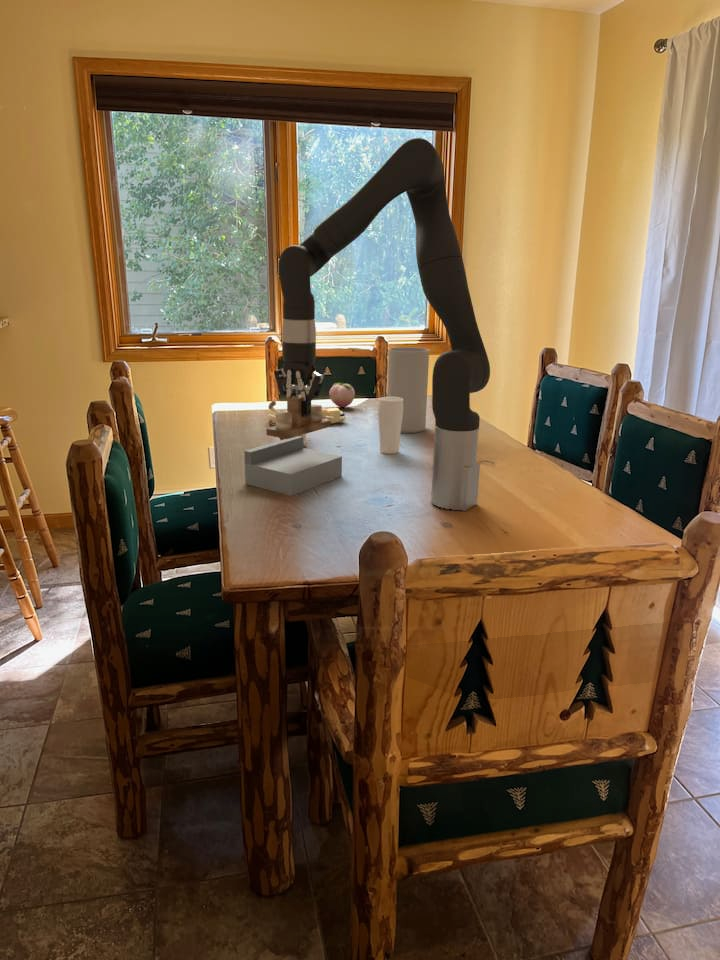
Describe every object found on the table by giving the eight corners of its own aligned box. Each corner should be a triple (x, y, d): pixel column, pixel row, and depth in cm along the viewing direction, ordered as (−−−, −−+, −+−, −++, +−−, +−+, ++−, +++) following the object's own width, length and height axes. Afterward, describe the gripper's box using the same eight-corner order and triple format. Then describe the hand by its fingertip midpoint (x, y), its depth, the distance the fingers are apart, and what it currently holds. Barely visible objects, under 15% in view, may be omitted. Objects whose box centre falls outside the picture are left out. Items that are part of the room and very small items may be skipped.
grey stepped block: (341, 476, 168) (342, 444, 165) (291, 495, 153) (291, 461, 150) (297, 466, 175) (297, 435, 173) (245, 483, 160) (244, 450, 158)
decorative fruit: (359, 407, 248) (360, 380, 245) (347, 411, 242) (347, 383, 239) (337, 404, 253) (338, 377, 250) (325, 408, 246) (325, 380, 243)
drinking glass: (399, 456, 187) (401, 401, 182) (375, 454, 188) (376, 400, 183) (403, 449, 193) (405, 397, 188) (379, 448, 194) (380, 395, 190)
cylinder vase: (432, 432, 214) (436, 351, 207) (395, 434, 210) (398, 352, 202) (414, 423, 225) (418, 346, 218) (379, 426, 221) (382, 347, 213)
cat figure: (270, 431, 217) (348, 424, 220) (267, 404, 214) (346, 397, 217) (269, 424, 226) (344, 417, 229) (266, 398, 224) (342, 391, 227)
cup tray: (310, 422, 168) (310, 390, 165) (330, 426, 164) (330, 393, 162) (266, 435, 155) (265, 400, 153) (286, 439, 152) (286, 403, 149)
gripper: (334, 341, 153) (333, 417, 158) (286, 336, 160) (286, 408, 165) (313, 343, 147) (313, 422, 152) (264, 338, 154) (265, 413, 160)
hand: (299, 415), depth 159 cm, fingers closed on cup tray, 3 cm apart
